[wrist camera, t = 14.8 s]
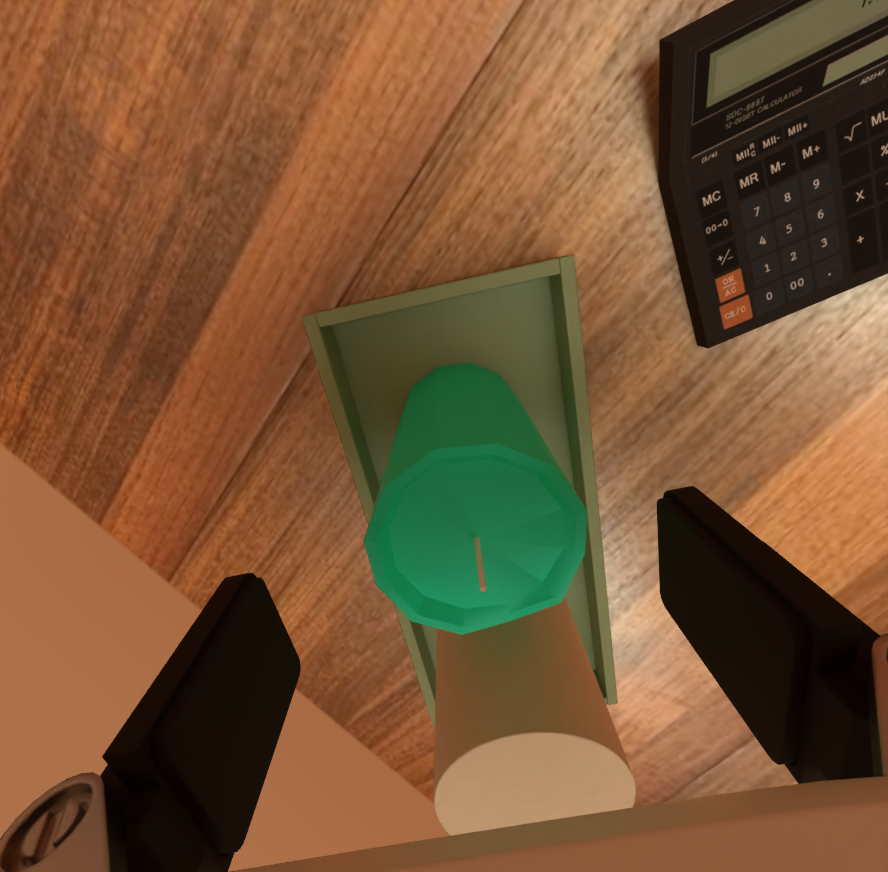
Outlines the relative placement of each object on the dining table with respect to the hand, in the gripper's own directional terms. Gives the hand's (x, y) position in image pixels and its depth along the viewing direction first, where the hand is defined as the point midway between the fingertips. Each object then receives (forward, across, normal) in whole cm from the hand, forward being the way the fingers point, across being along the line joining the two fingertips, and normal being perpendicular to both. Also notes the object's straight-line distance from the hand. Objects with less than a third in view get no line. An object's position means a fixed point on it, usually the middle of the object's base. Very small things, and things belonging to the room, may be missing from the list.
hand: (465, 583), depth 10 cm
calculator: (+12, -16, -8) cm, 21 cm away
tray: (+12, -1, +6) cm, 14 cm away
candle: (+12, -1, 0) cm, 12 cm away
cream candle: (+12, -1, +8) cm, 14 cm away
